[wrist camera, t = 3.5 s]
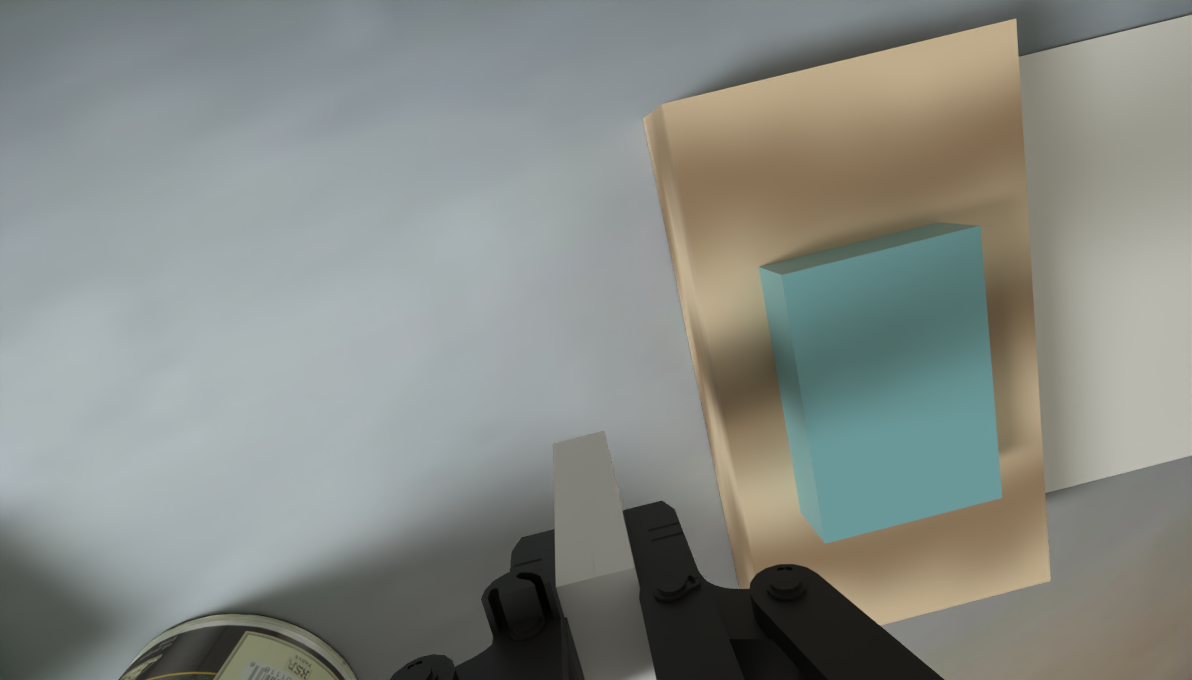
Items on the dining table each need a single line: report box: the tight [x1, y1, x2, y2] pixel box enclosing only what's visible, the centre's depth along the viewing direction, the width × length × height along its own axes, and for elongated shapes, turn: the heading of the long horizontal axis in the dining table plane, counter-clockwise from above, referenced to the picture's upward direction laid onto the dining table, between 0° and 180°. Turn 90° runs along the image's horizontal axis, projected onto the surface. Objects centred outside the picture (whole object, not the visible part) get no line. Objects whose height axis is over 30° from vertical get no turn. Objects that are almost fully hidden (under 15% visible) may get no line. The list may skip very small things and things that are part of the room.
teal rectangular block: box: [759, 222, 1002, 544], centre depth 20 cm, size 9×6×2 cm, turn 13°
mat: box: [1019, 15, 1192, 493], centre depth 25 cm, size 18×12×1 cm, turn 13°
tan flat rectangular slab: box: [643, 19, 1051, 625], centre depth 23 cm, size 20×11×4 cm, turn 13°
